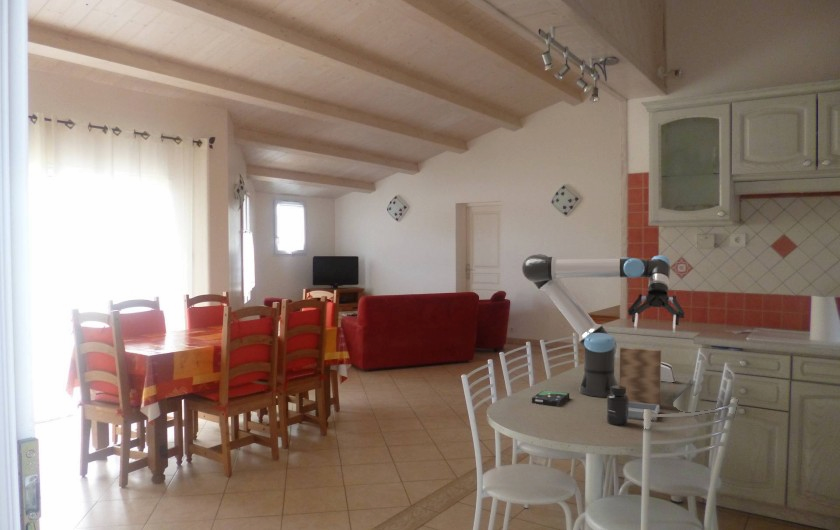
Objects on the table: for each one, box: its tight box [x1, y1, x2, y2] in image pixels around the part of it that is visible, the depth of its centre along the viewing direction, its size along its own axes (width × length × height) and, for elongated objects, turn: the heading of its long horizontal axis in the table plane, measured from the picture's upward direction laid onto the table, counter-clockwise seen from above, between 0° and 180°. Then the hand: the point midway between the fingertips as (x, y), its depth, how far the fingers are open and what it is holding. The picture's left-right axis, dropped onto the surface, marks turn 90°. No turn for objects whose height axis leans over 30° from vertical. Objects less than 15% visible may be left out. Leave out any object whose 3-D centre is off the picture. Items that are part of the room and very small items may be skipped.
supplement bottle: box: [606, 385, 629, 427], centre depth 201 cm, size 7×7×12 cm
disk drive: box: [531, 390, 570, 408], centre depth 230 cm, size 10×3×15 cm
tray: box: [628, 402, 660, 422], centre depth 212 cm, size 14×14×2 cm
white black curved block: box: [661, 361, 676, 383], centre depth 270 cm, size 17×5×10 cm, turn 53°
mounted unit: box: [619, 346, 662, 410], centre depth 225 cm, size 14×6×21 cm, turn 64°
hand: (654, 329), depth 229 cm, fingers open, 13 cm apart
